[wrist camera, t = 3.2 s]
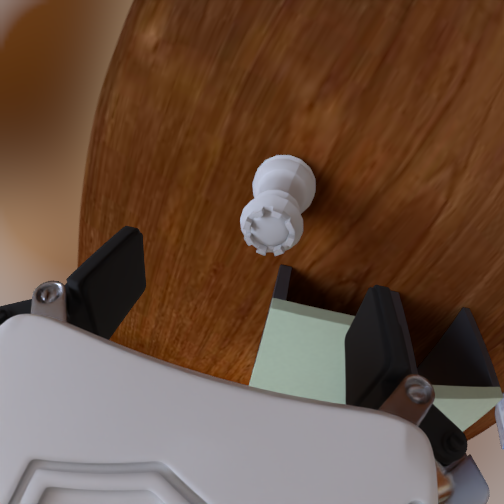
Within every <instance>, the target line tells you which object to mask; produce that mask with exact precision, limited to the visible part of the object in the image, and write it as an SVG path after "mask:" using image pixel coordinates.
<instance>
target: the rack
mask: <svg viewBox="0 0 504 504" xmlns="http://www.w3.org/2000/svg"><path fill="white" fill-rule="evenodd" d="M291 270H292V267H289V266H285V265H280V268H279V272H278V276H277V280H276V284H275V288H274V292H273V295H272V299H271V303H270V307H269V311H268V315H267V319H266V322H265V326H264V330H263V334H262V337H261V341H260V345H259V348H258V352H257V356H256V360H255V364H254V367H253V371H252V375H251V379H250V383H249V386H252V387H256V388H260V389H265V390H269V391H274V392H278V393H283V394H288V395H293V396H298V397H304V398H310V399H315V400H321V401H326V402H332V403H339V404H345V405H346V385H345V345H344V341H345V336H346V333H347V331H348V329H349V327H350V326H351V324H352V322H353V320H354V318H355V316H352V315H347V314H343V313H338V312H333V311H329V310H324V309H320V308H315V307H311V306H306V305H302V304H298V303H294V302H289V301H286V299H287V294H288V288H289V282H290V276H291ZM390 292H391V296H392V299H393V303H394V307H395V310H396V314H397V318H398V322H399V324H400V325H401V327H402V331H403V335H404V339H405V343H406V348H407V352H408V357H409V361H410V366H411V371H412V374H418V375H421V376H423V377H425V378H426V379H427V380H428V381H429V382H430V383H431V384H432V386H433V388H434V391H435V399H434V402H433V404H434V405H435V406H436V407H437V408H438V409H439V410H440V411H441V412H442V413H443V414H444V415H445V416H446V417H448V418H449V419H450V420H451V421H452V422H453V423H454V424H455V425H456V426H457V427H458V428H459V429H460V430H461V431H462V432H463V431H464V430H466V429H467V428H468V427H470V426H471V425H472V424H473V423H475V422H476V421H477V420H478V419H480V418H481V417H482V416H483V415H485V414H486V413H487V412H488V411H489V410H491V409H492V408H493V407H494V406H495V405H496V404H497V403H498V402H500V401H501V400H502V399H503V395H502V392H501V388H500V385H499V382H498V379H497V376H496V373H495V370H494V367H493V364H492V362H491V359H490V356H489V353H488V351H487V348H486V346H485V343H484V341H483V338H482V336H481V334H480V331H479V329H478V327H477V324H476V322H475V320H474V318H473V315H472V313H471V311H470V309H469V308H464V307H463V308H462V309H461V311H460V312H459V314H458V315H457V317H456V318H455V320H454V321H453V323H452V324H451V325H450V327H449V328H448V330H447V331H446V332H445V334H444V335H443V336H442V338H441V339H440V340H439V342H438V343H437V344H436V346H435V347H434V348H433V350H432V351H431V352H430V353H429V355H428V356H427V357H426V358H425V359H424V361H423V362H422V363H421V364H420V366H419V367H418V368H417V366H416V361H415V356H414V351H413V347H412V342H411V338H410V334H409V330H408V326H407V322H406V318H405V314H404V310H403V306H402V303H401V299H400V296H399V293H398V292H395V291H390Z"/></svg>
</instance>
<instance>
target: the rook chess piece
mask: <svg viewBox="0 0 504 504" xmlns="http://www.w3.org/2000/svg"><path fill="white" fill-rule="evenodd" d="M252 184H253V195H254V198H255V199H253V200H251V201H250V202H249V203H248V204H247V205H246V207H245V208H244V209H243V212H242V215H241V218H240V223H241V231H242V232H243V234H244V236H245V237H244V239H245V241H246V243H247V244H248V246H249V245H251V244H252V245H253V246H254V247H256V248H257V251H256V253H259V254H262V255H264V256H265V254H266V252H274V255H275V256H277V255H280V254H283V253H284V251H285V250H288V249H290V248H292V247H293V246H294V245H295V244H296V243H297V242H299V239H300V237H301V235H302V233H303V219H302V217H301V213H302V212H303V211H305V210H306V209H307V208H308V207H309V206H310V204H311V202H312V200H313V198H314V195H315V192H316V179H315V177H314V175H313V172H312V170H311V168H310V167H309V166H308V165H307V164H306V163H305V162H303V161H302V160H301V159H299V158H296V157H293V156H291V155H276V156H274V157H271V158H269V159H267V160H265V161H264V162H263V163H262V164H261V166H260V167H259V168H258V169H257V172H256V174H255V177H254V180H253V183H252Z"/></svg>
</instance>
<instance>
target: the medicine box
mask: <svg viewBox="0 0 504 504" xmlns="http://www.w3.org/2000/svg"><path fill="white" fill-rule="evenodd" d="M502 395H503V399H502V400H501V401H500V402H498V403H497V404H496V407H495V418H496V423H497V427H498V432H499V438H500V444H501V449H504V393H503V394H502Z"/></svg>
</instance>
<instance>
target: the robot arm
mask: <svg viewBox="0 0 504 504" xmlns="http://www.w3.org/2000/svg"><path fill="white" fill-rule="evenodd" d="M145 287H146V278H145V266H144V251H143V235H142V233H140V231H139V229H138V228H133V227H129V226H125V227H123V228H122V229H121V230H120V231H119V232H118V233H116V234H115V235H114V236H113V237H112V238H111V239H109V240H108V241H107V242H106V243H105V244H104V245H103V246H102V247H100V248H99V249H98V250H97V251H96V252H95V253H94V254H93V255H92V256H90V257H89V258H88V259H87V260H86V261H85V262H84V263H83V264H82V265H81V266H80V267H79V268H78V269H77V270H75V271H74V272H73V273H72V274H71V275H70V276H69V277H68V278H67V283H66V285H63V284H62V283H60V282H59V281H48V282H45V283H43V284H41V285H39V286H38V287H37V288H36V289H35V291H34V292H33V296H32V299H30V300H26V301H21V302H17V303H13V304H8V305H4V306H0V504H486V503H487V501H488V499H489V487H488V485H487V483H486V481H485V479H484V478H483V476H482V474H481V472H480V470H479V469H478V467H477V465H476V463H475V462H474V460H473V458H472V456H471V455H468V456H467V455H466V450H467V439H466V437H465V434H464V433H463V432H462V431H461V430H460V429H459V428H458V427H457V426H456V425H455V424H454V423H453V422H452V421H451V420H450V419H449V418H448V417H446V416H445V415H444V414H443V413H442V412H441V411H440V410H439V409H438V408H437V407H436V406H435V405H434V404H433V402H434V399H435V391H434V388H433V386H432V384H431V383H430V382H429V381H428V380H427V379H426V378H425V377H423V376H421V375H418V374H412V371H411V366H410V361H409V357H408V352H407V348H406V343H405V339H404V335H403V331H402V327H401V325H400V324H399V322H398V318H397V314H396V310H395V307H394V303H393V299H392V296H391V292H390V289H389V288H388V287H384V286H379V285H375V286H374V287H373V288H372V287H370V288H369V289H368V291H367V293H366V295H365V297H364V299H363V302H362V304H361V306H360V308H359V310H358V312H357V314H356V316H355V318H354V320H353V322H352V324H351V326H350V327H349V329H348V331H347V333H346V336H345V341H344V345H345V385H346V405H345V404H339V403H332V402H326V401H321V400H315V399H310V398H304V397H298V396H293V395H288V394H283V393H278V392H274V391H269V390H265V389H260V388H256V387H252V386H248V385H244V384H240V383H236V382H232V381H228V380H224V379H221V378H217V377H214V376H210V375H207V374H203V373H200V372H197V371H193V370H190V369H187V368H184V367H181V366H178V365H175V364H171V363H169V362H166V361H163V360H160V359H157V358H154V357H151V356H148V355H146V354H143V353H140V352H138V351H135V350H132V349H130V348H127V347H125V346H122V345H120V344H117V343H115V342H112V341H110V340H109V339H110V337H111V336H112V335H113V333H114V332H115V330H116V329H117V327H118V326H119V325H120V323H121V322H122V321H123V319H124V318H125V316H126V315H127V314H128V312H129V311H130V310H131V308H132V307H133V305H134V304H135V303H136V301H137V300H138V299H139V297H140V296H141V295H142V293H143V292H144V290H145Z"/></svg>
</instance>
